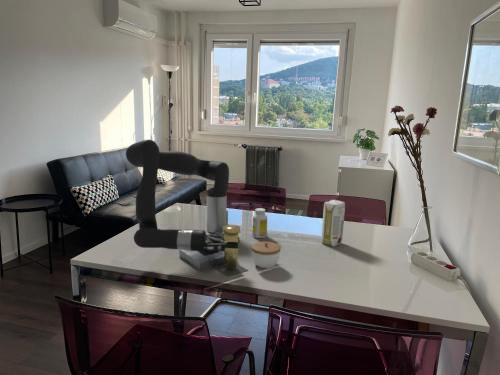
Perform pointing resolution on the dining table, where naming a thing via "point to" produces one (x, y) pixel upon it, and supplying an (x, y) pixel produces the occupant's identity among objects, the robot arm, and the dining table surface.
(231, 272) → the rubber mat
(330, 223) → the juice carton
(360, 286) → the dining table surface
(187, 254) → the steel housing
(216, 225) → the robot arm
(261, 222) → the supplement bottle
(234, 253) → the brass plug
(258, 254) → the lidded jar
